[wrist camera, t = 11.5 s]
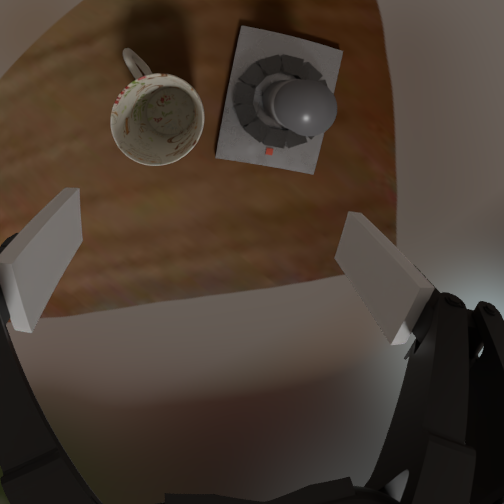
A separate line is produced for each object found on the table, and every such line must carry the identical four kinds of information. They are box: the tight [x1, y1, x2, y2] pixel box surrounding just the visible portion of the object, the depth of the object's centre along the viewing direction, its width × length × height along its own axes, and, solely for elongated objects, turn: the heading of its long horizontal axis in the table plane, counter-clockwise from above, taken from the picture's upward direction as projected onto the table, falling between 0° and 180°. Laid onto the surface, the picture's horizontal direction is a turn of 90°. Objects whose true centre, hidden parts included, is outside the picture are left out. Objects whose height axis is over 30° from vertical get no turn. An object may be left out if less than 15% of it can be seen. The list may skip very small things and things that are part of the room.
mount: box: [215, 26, 343, 175], centre depth 33 cm, size 12×16×3 cm
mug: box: [111, 48, 204, 166], centre depth 28 cm, size 8×13×10 cm, turn 28°
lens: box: [262, 79, 337, 136], centre depth 29 cm, size 5×5×10 cm
